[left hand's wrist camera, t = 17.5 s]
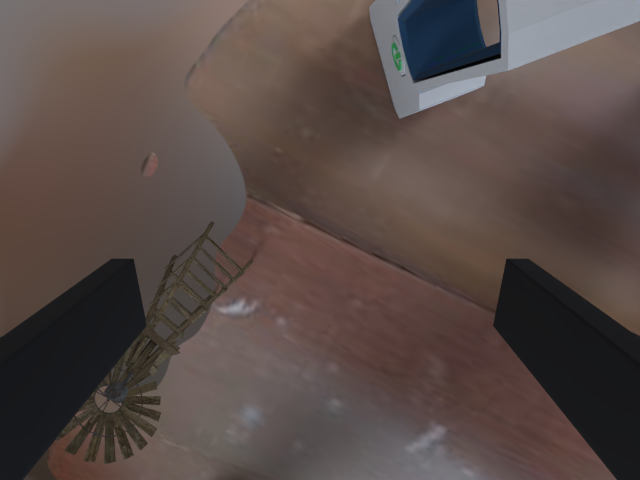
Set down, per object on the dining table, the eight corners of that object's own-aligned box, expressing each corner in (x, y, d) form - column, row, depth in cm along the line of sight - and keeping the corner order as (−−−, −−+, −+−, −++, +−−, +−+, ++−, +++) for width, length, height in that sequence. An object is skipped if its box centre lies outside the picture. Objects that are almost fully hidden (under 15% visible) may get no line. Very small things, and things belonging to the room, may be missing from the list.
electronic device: (365, 10, 40) (470, -221, 12) (429, -16, 39) (705, -335, 11) (395, 119, 44) (527, 135, 16) (454, 97, 43) (702, 72, 15)
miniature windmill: (169, 254, 51) (-20, 435, 22) (210, 217, 49) (60, 365, 21) (215, 297, 53) (97, 509, 25) (256, 263, 51) (178, 452, 23)
